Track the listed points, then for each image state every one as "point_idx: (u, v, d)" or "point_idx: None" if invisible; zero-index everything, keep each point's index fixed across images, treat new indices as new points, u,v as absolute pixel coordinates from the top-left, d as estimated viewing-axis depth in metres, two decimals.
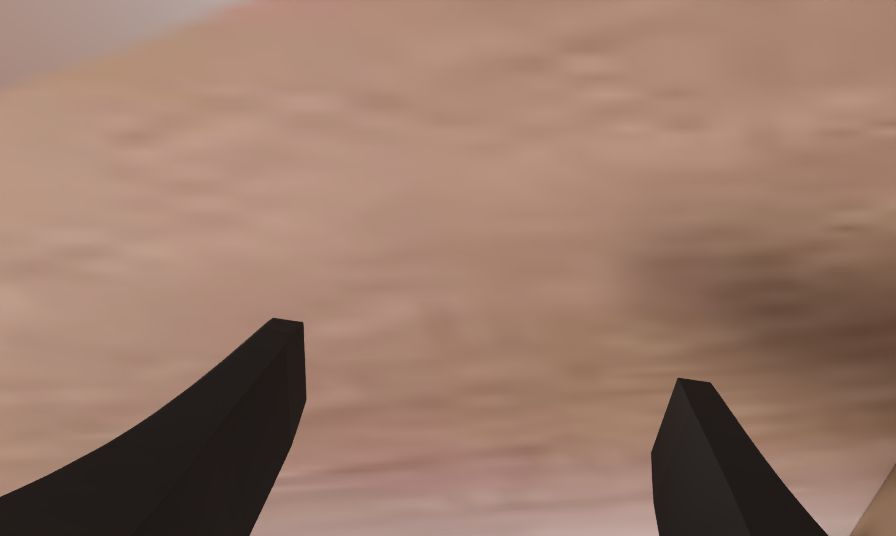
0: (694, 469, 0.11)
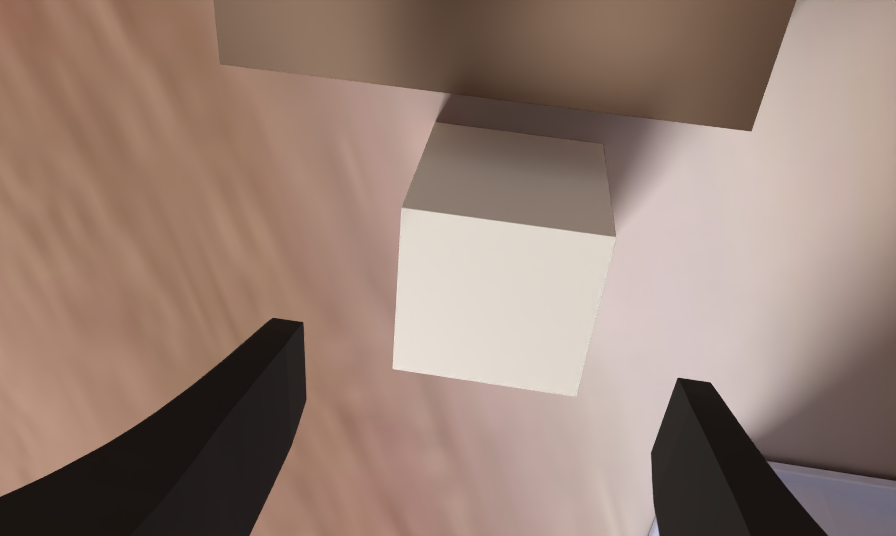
0: (694, 469, 0.11)
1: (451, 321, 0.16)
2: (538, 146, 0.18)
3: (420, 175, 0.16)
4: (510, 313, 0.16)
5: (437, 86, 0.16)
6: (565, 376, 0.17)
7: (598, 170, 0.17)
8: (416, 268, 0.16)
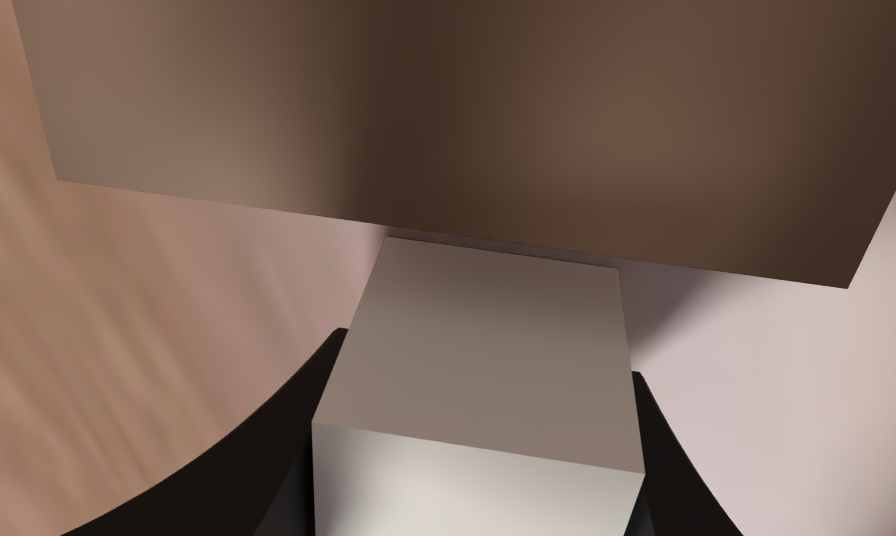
0: None
1: None
2: (527, 279, 0.13)
3: (350, 347, 0.11)
4: None
5: (375, 217, 0.11)
6: None
7: (613, 323, 0.12)
8: (341, 496, 0.10)
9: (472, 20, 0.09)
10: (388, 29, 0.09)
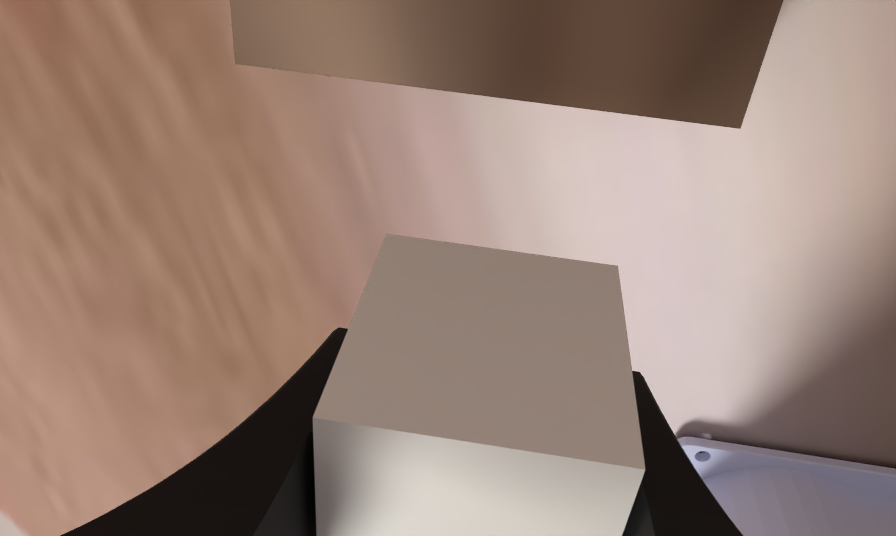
0: None
1: None
2: (528, 276, 0.13)
3: (351, 343, 0.11)
4: None
5: (442, 85, 0.17)
6: None
7: (613, 320, 0.12)
8: (341, 492, 0.10)
9: None
10: None
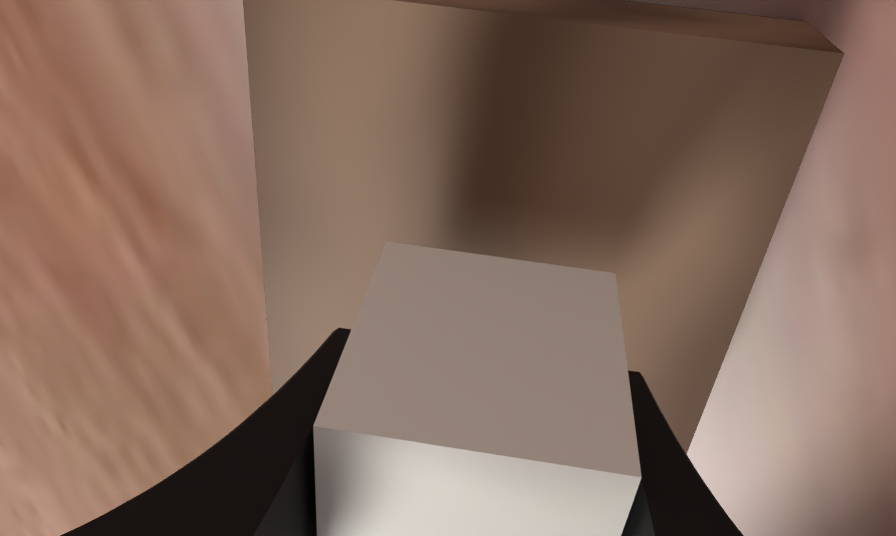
0: None
1: None
2: (526, 283, 0.13)
3: (351, 351, 0.11)
4: None
5: None
6: None
7: (611, 328, 0.12)
8: (342, 499, 0.10)
9: None
10: None
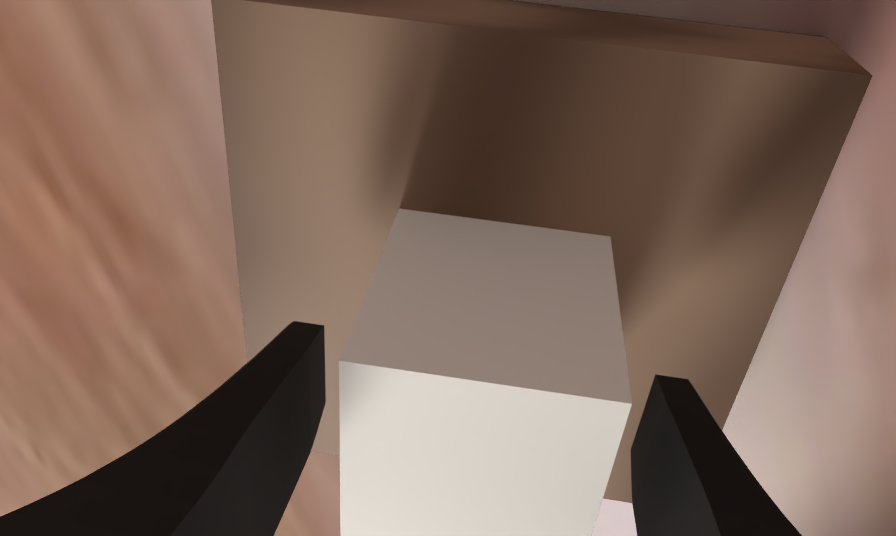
0: (670, 464, 0.11)
1: (413, 491, 0.12)
2: (528, 245, 0.14)
3: (370, 300, 0.12)
4: (490, 486, 0.12)
5: None
6: None
7: (606, 282, 0.13)
8: (364, 431, 0.12)
9: None
10: None
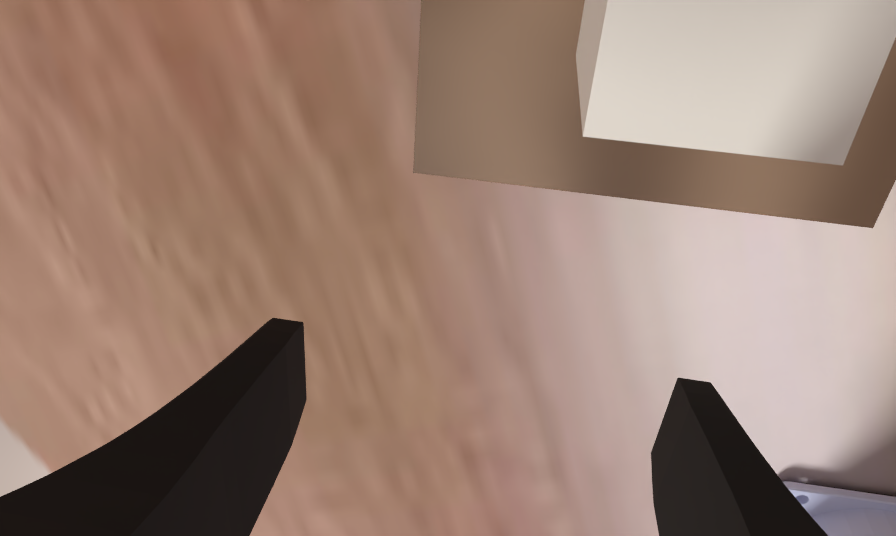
0: (695, 469, 0.11)
1: (681, 46, 0.11)
2: None
3: None
4: (772, 26, 0.11)
5: (602, 191, 0.18)
6: (834, 131, 0.12)
7: None
8: None
9: None
10: None
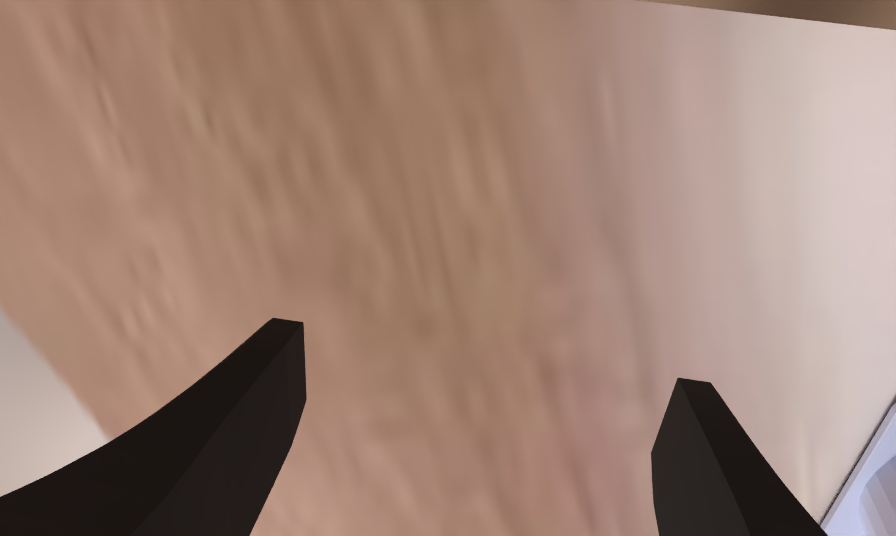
0: (695, 469, 0.11)
1: None
2: None
3: None
4: None
5: (763, 8, 0.16)
6: None
7: None
8: None
9: None
10: None
